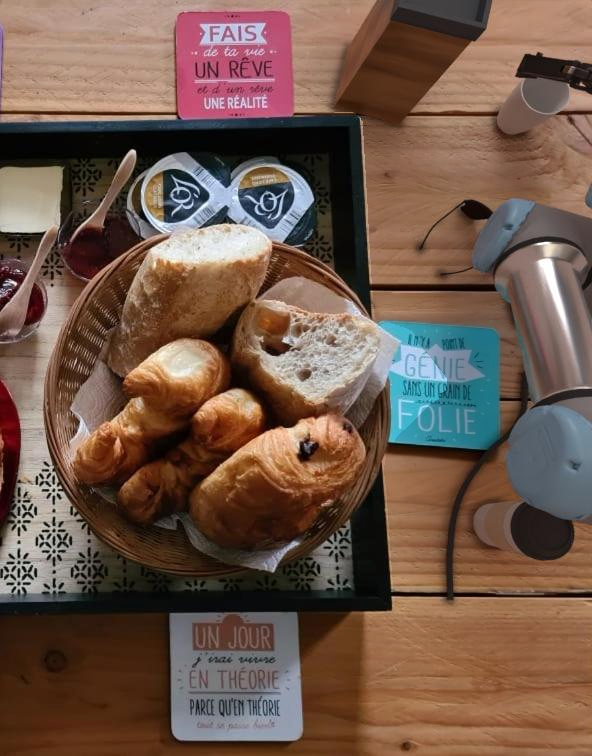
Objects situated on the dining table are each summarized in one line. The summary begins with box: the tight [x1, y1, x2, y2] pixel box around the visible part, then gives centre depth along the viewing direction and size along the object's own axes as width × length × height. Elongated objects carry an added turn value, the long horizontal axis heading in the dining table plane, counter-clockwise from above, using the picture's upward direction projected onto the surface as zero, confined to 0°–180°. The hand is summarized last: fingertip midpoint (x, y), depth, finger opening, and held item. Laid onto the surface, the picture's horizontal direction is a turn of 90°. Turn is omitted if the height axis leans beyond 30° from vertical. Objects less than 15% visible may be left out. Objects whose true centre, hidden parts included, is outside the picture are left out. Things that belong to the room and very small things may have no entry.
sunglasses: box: [419, 199, 494, 276], centre depth 125 cm, size 10×12×5 cm
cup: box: [496, 77, 571, 135], centre depth 125 cm, size 8×8×10 cm
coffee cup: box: [472, 499, 575, 562], centre depth 112 cm, size 9×9×15 cm
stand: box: [333, 0, 473, 125], centre depth 118 cm, size 12×12×25 cm
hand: (562, 80), depth 115 cm, fingers open, 13 cm apart
